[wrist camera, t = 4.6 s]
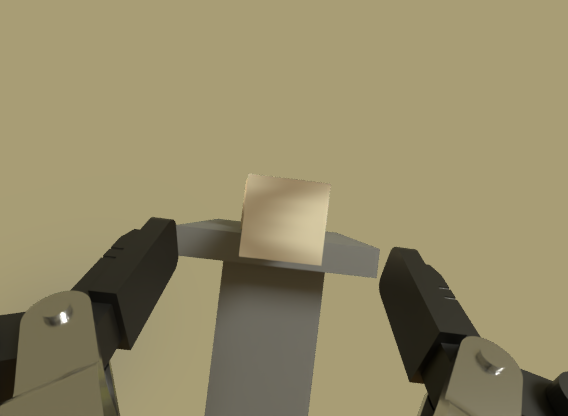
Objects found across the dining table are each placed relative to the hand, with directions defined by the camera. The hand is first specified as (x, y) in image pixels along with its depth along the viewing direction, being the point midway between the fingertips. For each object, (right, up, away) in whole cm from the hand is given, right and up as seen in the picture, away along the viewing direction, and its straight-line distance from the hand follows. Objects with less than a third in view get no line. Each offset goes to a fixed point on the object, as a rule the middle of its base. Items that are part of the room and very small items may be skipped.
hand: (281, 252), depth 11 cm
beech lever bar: (0, 0, +10) cm, 10 cm away
